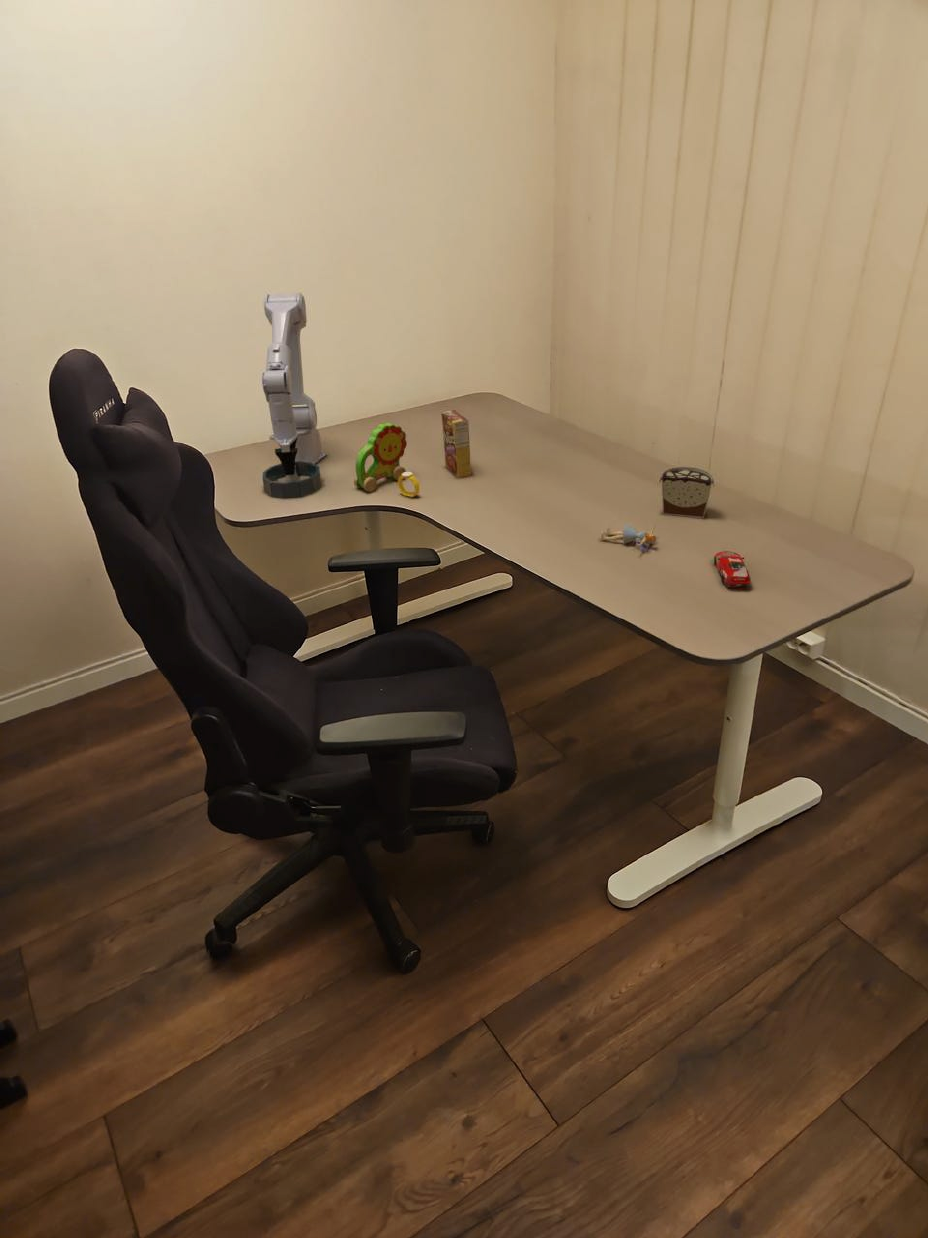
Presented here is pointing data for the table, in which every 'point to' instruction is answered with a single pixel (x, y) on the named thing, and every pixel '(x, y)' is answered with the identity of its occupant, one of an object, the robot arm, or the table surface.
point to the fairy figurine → (630, 536)
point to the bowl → (278, 488)
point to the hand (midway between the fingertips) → (290, 468)
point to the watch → (414, 480)
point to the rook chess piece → (292, 478)
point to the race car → (732, 569)
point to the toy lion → (381, 456)
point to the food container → (686, 491)
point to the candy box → (456, 443)
